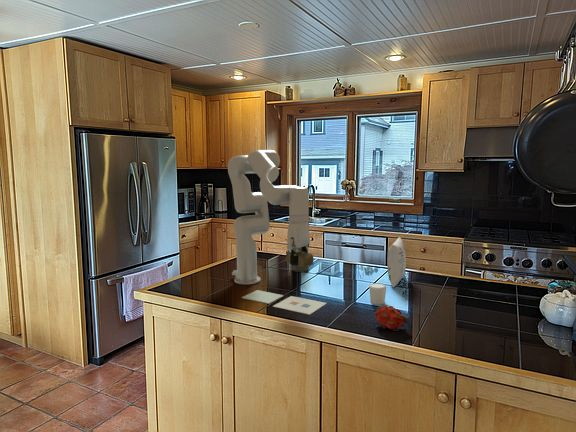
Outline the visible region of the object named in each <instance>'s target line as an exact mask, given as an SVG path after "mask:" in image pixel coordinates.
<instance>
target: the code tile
mask: <svg viewBox="0 0 576 432" xmlns="http://www.w3.org/2000/svg"><path fill="white" fill-rule="evenodd" d="M325 305H327V302H324V301H323V302H322V301H318V300H313V299H308V298H304V297H298V296H292V295H290V296H289V297H286V298H284V299H283V300H281V301H280V302H278V303H275V304H274V305H272V307H273V308H278V309H283V310H287V311H291V312H295V313H299V314H300V313H301V314H303V315H309V316H310V315H311V314H313V313H314V312H316V311H318V310H320V309H321V308H322V307H323V306H325Z"/></svg>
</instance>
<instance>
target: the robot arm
mask: <svg viewBox="0 0 576 432" xmlns="http://www.w3.org/2000/svg"><path fill="white" fill-rule="evenodd" d="M280 163H281V158H280V155H279V154H278V153H277V152H276V151H275V150H272V149H256V150H253V151H250V153H249V154H240V155H235V156H233V157H230V159H229V160H228V164H227V173H228V176H229V179H230V183H231V185H232V186H231V187H232V194H233V195H232V196H233V202H234V209H235V211H236V212H237V213H239V214H249V213H255V214H252V215H251V214H250V215H241V216H239V217H237V218H236V219H235V220H234V222H233V232H234V234H235V245H236V247H235V248H236V249H235V250H236V269H233V271H232V272H231V276H235V278H234V279H233V280H234V283H235V284H237V285H254V284H257V283H260V282H261V277H260V276H259V275H258V258H257V257H258V256H257V252H258V251H257V243H256V241H255V239H254V238H253V236H256V235H264V234H266V233H267V232H269V229H270V216H269V207H268V203H269V204H271V205H273V206H280V205H288V209H289V210H288V211H289V213H288V214H289V220H288V226H287V227H288V228H287V236H286V237H287V239H286V246H287V247H286V249H287V251H289V255H290V263H289V264H290V265H291V266H292V265H295V266H297V265H298V255H297V252H298V249H299V248H301V250H302V252H306V253H309V247H310V243H311V239H310V216H309V208H310V207H309V205H310V204H309V202H310V201H309V188H307V187H306V186H298V185H296V184H294V185H292V184H290V185H286V184H284V185H274V184H273V182H275V181H276V180H277V179H278V176H279V174H280V171H279V168H278V167H279V165H280ZM247 174H256V175H257V176H258V177H259V180H260V181H259V190H260V191H257V192H256V191H255V192H254V191H253V192H252V189H251V188H252V187H251V183H250V180H249V179H248V177H247V176H246V175H247ZM308 222H309V224H308ZM294 246H296V247H294ZM293 249H295V251H294V250H293Z"/></svg>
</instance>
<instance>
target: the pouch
mask: <svg viewBox="0 0 576 432" xmlns="http://www.w3.org/2000/svg"><path fill="white" fill-rule="evenodd" d="M406 253H407V252H406V248H405V244H404V241H403V239H402V237H401V236H399V237H398V238H397V239H396V240H395V241H394V242H393V243H392V245H391V246H389V248H388V251H387V258H386V260H387V263H386V264H387V274H388V278H389V279H388V280H389V282H390V285H391V287H392V288H393V289H394V288H395V287H397V285H398V284H399V282H400V281H401V280H402V278H403V277H404V275H405V273H406V267H407V255H406Z"/></svg>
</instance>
